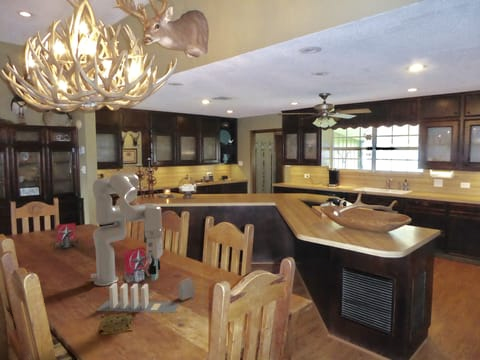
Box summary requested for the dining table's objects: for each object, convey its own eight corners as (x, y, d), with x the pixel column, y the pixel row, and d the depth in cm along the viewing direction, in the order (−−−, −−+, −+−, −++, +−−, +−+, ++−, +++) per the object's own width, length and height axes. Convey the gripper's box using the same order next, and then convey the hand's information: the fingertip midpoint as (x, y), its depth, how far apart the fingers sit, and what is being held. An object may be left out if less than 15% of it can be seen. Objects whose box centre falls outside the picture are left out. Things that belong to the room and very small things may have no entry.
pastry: (87, 328, 139) (87, 322, 139) (122, 312, 153) (122, 305, 153) (113, 342, 129) (112, 334, 129) (148, 322, 143) (148, 316, 143)
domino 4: (141, 309, 153) (141, 288, 152) (145, 304, 158) (144, 283, 157) (145, 309, 152) (144, 288, 152) (148, 304, 157) (148, 283, 157)
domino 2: (120, 308, 153) (119, 287, 152) (124, 303, 158) (124, 283, 157) (123, 308, 153) (123, 287, 152) (128, 303, 158) (127, 283, 157)
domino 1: (110, 308, 154) (109, 287, 153) (114, 303, 159) (113, 283, 158) (113, 308, 153) (112, 287, 152) (118, 303, 158) (117, 283, 157)
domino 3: (131, 308, 153) (130, 288, 152) (135, 303, 158) (134, 283, 157) (134, 309, 153) (133, 288, 152) (138, 303, 158) (137, 283, 157)
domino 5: (151, 280, 151) (150, 259, 150) (155, 276, 156) (154, 255, 155) (155, 280, 151) (154, 259, 150) (158, 276, 156) (157, 255, 155)
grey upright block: (194, 298, 166) (193, 278, 165) (182, 302, 161) (182, 282, 160) (190, 295, 169) (189, 276, 168) (178, 299, 164) (178, 280, 163)
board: (96, 312, 151) (96, 310, 151) (106, 302, 161) (106, 300, 161) (174, 314, 149) (174, 312, 149) (179, 304, 159) (179, 302, 159)
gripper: (155, 238, 143) (157, 279, 144) (166, 228, 160) (167, 265, 161) (138, 238, 143) (140, 278, 145) (151, 228, 160) (152, 265, 162)
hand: (154, 271), depth 153 cm, fingers closed on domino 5, 4 cm apart
